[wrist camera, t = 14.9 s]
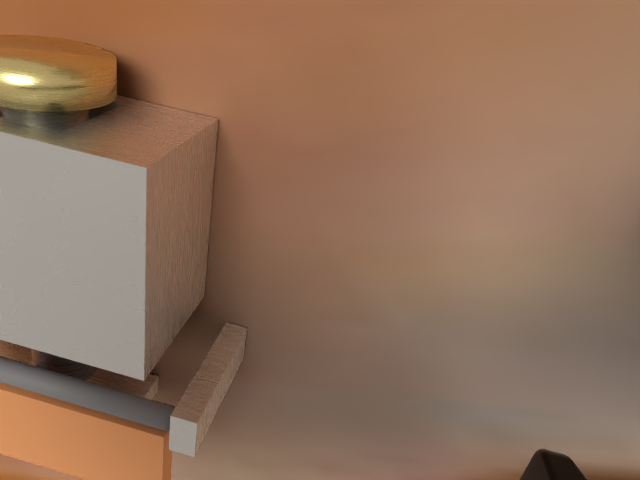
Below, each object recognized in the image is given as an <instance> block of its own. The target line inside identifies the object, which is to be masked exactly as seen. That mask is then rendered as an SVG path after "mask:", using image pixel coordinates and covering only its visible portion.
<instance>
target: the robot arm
mask: <svg viewBox="0 0 640 480" xmlns="http://www.w3.org/2000/svg"><path fill="white" fill-rule="evenodd" d="M520 480H587V479H586V477H585V476H584V475H583V474H582V472H581V471H580V470H579V468H578V467H577V466H576V464H575V463H574V462H573V461H572V460H571V459H570V458H569V457H568V456H566V455H564V454H560V453H557V452H553V451H549V450H546V449H539V450H538V451H536V452H535V454H534V455H533V457H532V459H531V460H530V462H529V464H528V466H527V468H526V469H525V471H524V473H523V475H522V476H521V478H520Z"/></svg>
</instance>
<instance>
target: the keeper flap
mask: <svg viewBox="0 0 640 480" xmlns="http://www.w3.org/2000/svg"><path fill="white" fill-rule="evenodd" d="M174 409H175V406H171V405H168V404H164V403H161V402H157V401H154V400H150V399H147V398H144V397H140V396H137V395H133V394H130V393H126V392H123V391H119V390H116V389H112V388H109V387H106V386H102V385H99V384H95V383H92V382H88V381H85V380H81V379H78V378H74V377H71V376H68V375H64V374H61V373H57V372H54V371H50V370H47V369H43V368H40V367H36V366H33V365H29V364H26V363H23V362H19V361H16V360H12V359H9V358H5V357H2V356H0V454H3V455H7V456H10V457H13V458H16V459H20V460H23V461H26V462H29V463H33V464H36V465H39V466H42V467H46V468H49V469H52V470H55V471H59V472H62V473H65V474H68V475H72V476H75V477H78V478H81V479H85V480H171V459H172V450H169V432H170V415H171V414H172V412H173V410H174Z"/></svg>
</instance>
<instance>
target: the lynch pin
mask: <svg viewBox="0 0 640 480" xmlns="http://www.w3.org/2000/svg"><path fill="white" fill-rule="evenodd" d="M116 98H117V60H116V57H115V55H113V54H112V53H111V52H109V51H107V50H104V49H102V48H99V47H96V46H93V45H89V44H85V43H81V42H76V41H71V40H65V39H58V38H50V37H40V36H27V35H0V112H1V117H3V118H7V119H12V120H16V121H20V122H24V123H28V124H32V125H36V126H40V127H44V128H48V129H53V130H57V131H61V132H62V131H65V130H67V129H69V128H71V127H74V126H76V125H78V124H81V123H83V122H85V121H88V120H89V109H93V108H98V107H102V106H105V105H108V104H110V103H112V102H113V101H114V100H115V99H116ZM31 354H32V362H33V366H36V367H40V368H43V369H47V370H50V371H54V372H57V373H61V374H64V375H68V376H71V377H74V378H78V379H81V380H87V379H88V378H90V377H91V376H92V375H93V374H94V373H95V372H96V371H97V369H98V368H97V367H94V366H90V365H87V364H83V363H80V362H77V361H73V360H70V359H66V358H63V357H59V356H56V355H52V354H49V353H45V352H42V351H38V350H35V349H31Z"/></svg>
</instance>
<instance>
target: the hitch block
mask: <svg viewBox="0 0 640 480" xmlns="http://www.w3.org/2000/svg"><path fill="white" fill-rule="evenodd" d="M217 132H218V119H217V118H213V117H209V116H204V115H200V114H196V113H191V112H187V111H183V110H179V109H174V108H170V107H166V106H162V105H157V104H153V103H149V102H145V101H140V100H136V99H132V98H128V97H123V96H119V95H117V98H116V99H115V100H114V101H113V102H112V103H110V104H108V105H105V106H102V107H98V108H93V109H89V120H88V121H85V122H83V123H81V124H78V125H76V126H74V127H71V128H69V129H67V130H65V131H62V132H61V131H57V130H53V129H48V128H44V127H40V126H36V125H32V124H28V123H24V122H20V121H16V120H12V119H7V118H3V117H1V112H0V340H3V341H7V342H10V343H14V344H17V345H21V346H24V347H28V348H31V349H35V350H38V351H42V352H45V353H49V354H52V355H56V356H59V357H63V358H66V359H70V360H73V361H77V362H80V363H83V364H87V365H90V366H94V367H97V368H98V369H97V371H96V372H95V373H94V374H93V375H92V376H91V377H90V378H88V379H87V380H85V381H88V382H92V383H95V384H99V385H102V386H106V387H109V388H112V389H116V390H119V391H123V392H126V393H130V394H133V395H137V396H140V397H144V398H147V399H150V400H152V399H153V398H154V396H155V395H156V393H157V392H158V385H159V376H157V375H154V374H150V372H151V370H152V369H153V368H154V366H155V365H156V363H157V362H158V361H159V359H160V358H161V356H162V355H163V354H164V352H165V351H166V349H167V348H168V347H169V345H170V344H171V342H172V341H173V340H174V338H175V337H176V335H177V334H178V333H179V331H180V330H181V328H182V327H183V325H184V324H185V323H186V321H187V320H188V318H189V317H190V316H191V314H192V313H193V311H194V310H195V309H196V307H197V306H198V304H199V303H200V302H201V300H202V299H203V297H204V295H205V282H206V269H207V257H208V244H209V232H210V219H211V207H212V194H213V182H214V169H215V157H216V144H217ZM246 335H247V328H245V327H242V326H238V325H234V324H231V323H227V322H226V323H225V325H224V327H223V328H222V330H221V332H220V333H219V335H218V337H217V338H216V340H215V342H214V343H213V345H212V347H211V348H210V350H209V352H208V353H207V355H206V357H205V358H204V360H203V362H202V363H201V365H200V367H199V368H198V370H197V372H196V374H195V375H194V377H193V379H192V380H191V382H190V384H189V385H188V387H187V389H186V390H185V392H184V394H183V395H182V397H181V399H180V400H179V402H178V404H177V405H176V407H175V409H174V410H173V412H172V414H171V415H170V432H169V450H172V451H175V452H178V453H182V454H185V455H188V456H192V457H195V455H196V453H197V451H198V449H199V447H200V445H201V443H202V441H203V439H204V437H205V435H206V433H207V431H208V429H209V427H210V425H211V422H212V420H213V418H214V416H215V414H216V412H217V410H218V408H219V406H220V404H221V402H222V400H223V398H224V396H225V394H226V392H227V390H228V388H229V386H230V384H231V382H232V380H233V378H234V376H235V374H236V372H237V370H238V368H239V366H240V364H241V362H242V360H243V357H244V350H245V342H246ZM27 364H29V365H33V362H32V359H31V360H30V361H29V362H28V363H27Z"/></svg>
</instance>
